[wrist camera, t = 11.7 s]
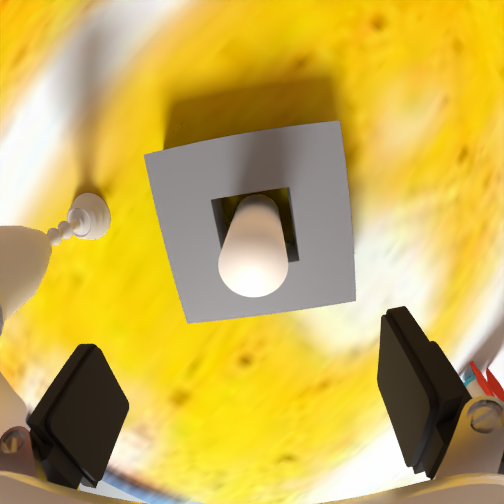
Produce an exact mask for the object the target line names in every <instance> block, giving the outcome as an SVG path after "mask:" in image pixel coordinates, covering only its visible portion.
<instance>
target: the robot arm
mask: <svg viewBox="0 0 504 504" xmlns="http://www.w3.org/2000/svg"><path fill="white" fill-rule="evenodd" d="M377 382H378V387H379V390H380V393H381V395H382V398H383V401H384V403H385V406H386V409H387V412H388V414H389V417H390V420H391V423H392V425H393V428H394V431H395V434H396V437H397V440H398V443H399V446H400V449H401V451H402V454H403V457H404V461H405V463H406V466H407V467H411V466H412V467H413V470H414V473H415V474H418V473H421V472H424V471H425V473H426V476H427V477H428V478H430V480H429V481H424V482H420V483H416V484H412V485H408V486H404V487H400V488H396V489H392V490H388V491H383V492H379V493H375V494H370V495H366V496H361V497H355V498H350V499H344V500H338V501H332V502H326V503H319V504H504V402H503V401H501V400H500V399H499V398H496V397H493V396H486V395H483V396H478V397H475V398H472V396H471V395H470V393H469V392H468V390H467V388H466V387H465V385H464V383H463V382H462V380H461V379H460V377H459V376H458V374H457V372H456V371H455V369H454V368H453V366H452V365H451V363H450V362H449V360H448V359H447V357H446V356H445V354H444V353H443V351H442V350H441V348H440V347H439V345H438V344H437V343H436V342H434V341H431V342H430V341H429V340H428V338H427V337H426V335H425V334H424V332H423V331H422V329H421V328H420V326H419V325H418V323H417V322H416V321H415V319H414V318H413V316H412V315H411V313H410V312H409V311H408V309H407V308H406V307H405V306H402V307H397V308H392V309H388V310H387V312H386V315H382V317H381V332H380V349H379V362H378V374H377ZM128 410H129V402H128V400H127V398H126V396H125V394H124V393H123V391H122V389H121V387H120V385H119V384H118V382H117V380H116V378H115V376H114V374H113V372H112V370H111V368H110V367H109V365H108V363H107V361H106V359H105V357H104V355H103V353H102V351H101V349H100V348H98V347H97V346H96V345H95V344H80V345H78V346H77V348H76V349H75V350H74V352H73V353H72V355H71V356H70V358H69V359H68V360H67V362H66V363H65V365H64V366H63V368H62V369H61V370H60V372H59V373H58V375H57V376H56V378H55V379H54V381H53V382H52V384H51V385H50V387H49V388H48V390H47V391H46V393H45V394H44V396H43V397H42V399H41V400H40V402H39V403H38V405H37V406H36V408H35V410H34V411H33V413H32V414H31V416H30V417H29V419H28V421H27V422H26V423H27V424H28V425H29V426H30V428H31V430H30V432H29V431H28V430H27V429H26V428H25V427H22V426H16V427H12V428H10V429H9V430H7V431H6V432H5V433H4V434H3V435H2V436H1V438H0V504H145V503H139V502H133V501H127V500H121V499H116V498H110V497H105V496H101V495H96V494H92V493H87V492H84V491H80V489H79V484H80V483H81V484H82V485H84V486H88V487H92V488H96V486H97V483H98V481H100V480H101V479H102V478H103V475H104V472H105V469H106V467H107V464H108V461H109V459H110V456H111V454H112V451H113V448H114V446H115V443H116V441H117V438H118V436H119V433H120V430H121V428H122V425H123V423H124V420H125V418H126V415H127V413H128Z"/></svg>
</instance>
